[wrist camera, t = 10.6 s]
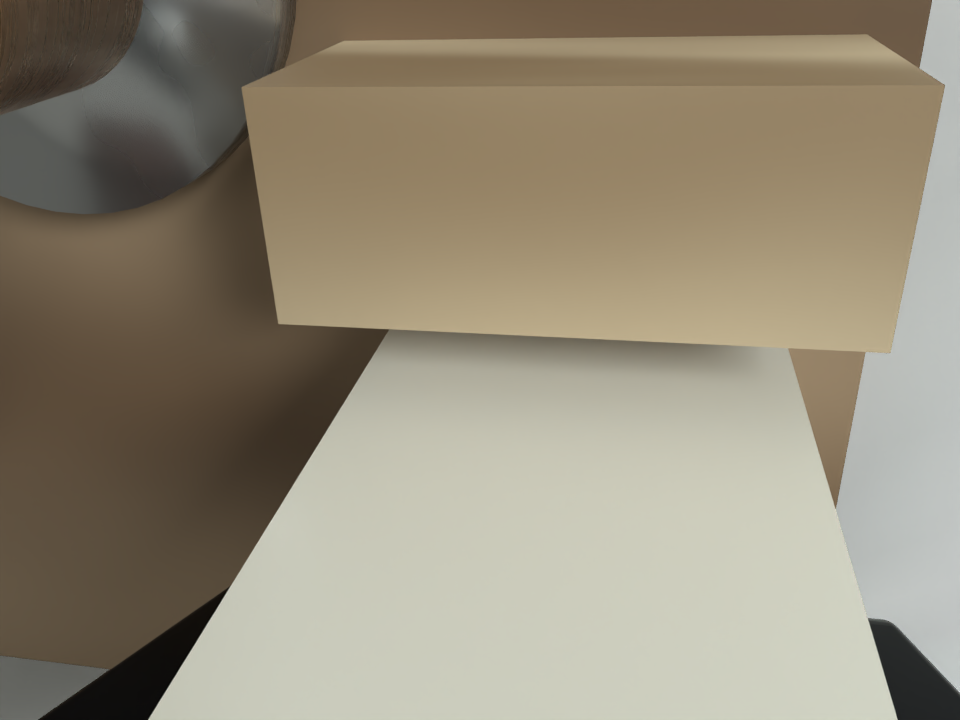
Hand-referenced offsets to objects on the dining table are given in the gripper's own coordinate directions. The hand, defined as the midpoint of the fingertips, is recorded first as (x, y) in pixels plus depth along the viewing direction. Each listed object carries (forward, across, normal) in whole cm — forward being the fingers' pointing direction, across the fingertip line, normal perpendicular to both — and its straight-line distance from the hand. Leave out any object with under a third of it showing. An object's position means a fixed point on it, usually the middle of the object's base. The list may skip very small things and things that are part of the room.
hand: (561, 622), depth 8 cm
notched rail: (+3, 0, 0) cm, 3 cm away
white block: (+3, 0, 0) cm, 3 cm away
